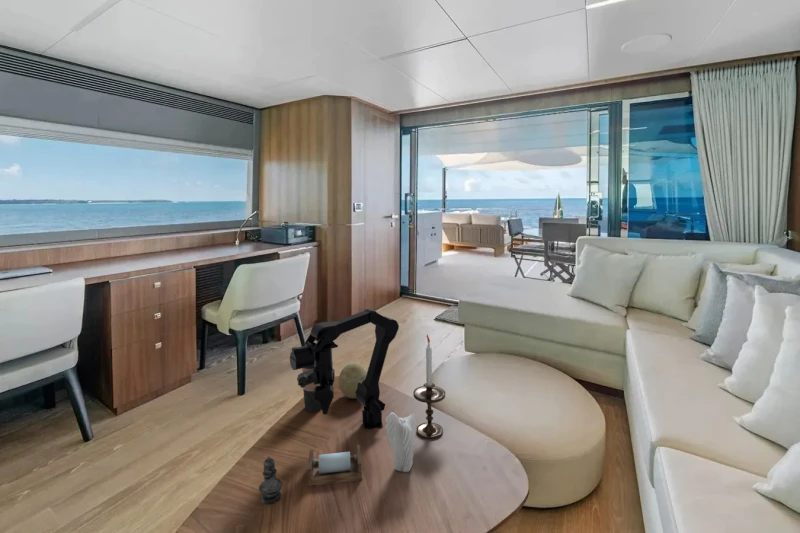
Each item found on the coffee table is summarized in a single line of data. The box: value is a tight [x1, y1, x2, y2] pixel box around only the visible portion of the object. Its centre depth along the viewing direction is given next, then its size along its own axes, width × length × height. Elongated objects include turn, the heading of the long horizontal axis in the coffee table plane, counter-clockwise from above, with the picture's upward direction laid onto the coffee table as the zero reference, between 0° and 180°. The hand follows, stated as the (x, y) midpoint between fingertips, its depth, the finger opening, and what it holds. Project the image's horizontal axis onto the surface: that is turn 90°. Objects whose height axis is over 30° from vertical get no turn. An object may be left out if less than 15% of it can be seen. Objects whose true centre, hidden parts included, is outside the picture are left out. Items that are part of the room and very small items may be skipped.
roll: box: [318, 451, 351, 474], centre depth 113 cm, size 9×5×5 cm, turn 98°
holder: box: [306, 444, 363, 487], centre depth 113 cm, size 15×9×5 cm, turn 98°
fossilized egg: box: [337, 361, 368, 400], centre depth 159 cm, size 13×13×15 cm
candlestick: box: [412, 333, 446, 440], centre depth 131 cm, size 11×11×35 cm
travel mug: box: [301, 362, 322, 413], centre depth 151 cm, size 8×8×20 cm
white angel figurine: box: [385, 411, 417, 473], centre depth 114 cm, size 8×8×18 cm
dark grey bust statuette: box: [258, 455, 283, 506], centre depth 103 cm, size 6×6×12 cm
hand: (325, 407), depth 128 cm, fingers open, 9 cm apart
